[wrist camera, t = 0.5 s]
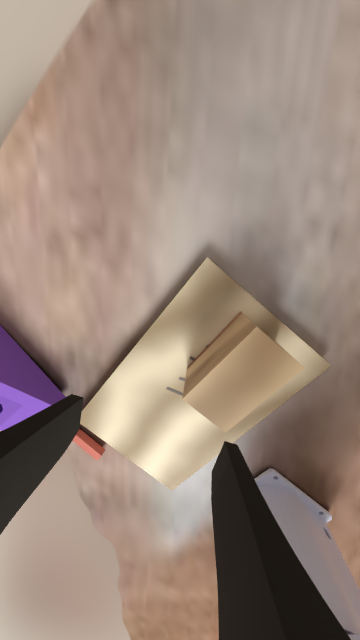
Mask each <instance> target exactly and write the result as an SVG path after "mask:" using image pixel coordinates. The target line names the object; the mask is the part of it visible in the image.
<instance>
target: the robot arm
mask: <svg viewBox="0 0 360 640" xmlns="http://www.w3.org/2000/svg"><path fill="white" fill-rule="evenodd" d="M82 405H83V397H79V396H76V395H73V394H71V395H70V396H68V397H66V398H64V399H62V400H60V401H58V402H56V403H55V404H53V405H51V406H49V407H47V408H45V409H43V410H42V411H40V412H38V413H36V414H34V415H32V416H30V417H28V418H26V419H24V420H23V421H21V422H19V423H17V424H15V425H13V426H11V427H9V428H7V429H5V430H3V431H1V432H0V534H1V533H2V532H3V530H4V529H5V527H6V526H7V525H8V523H9V522H10V521H11V519H12V518H13V517H14V515H15V514H16V512H17V511H18V510H19V509H20V508H21V506H22V505H23V504H24V503H25V501H26V500H27V499H28V498H29V496H30V495H31V494H32V493H33V491H34V490H35V489H36V488H37V486H38V485H39V484H40V483H41V481H42V480H43V479H44V478H45V476H46V475H47V474H48V473H49V471H50V470H51V469H52V468H53V466H54V465H55V464H56V462H57V461H58V460H59V459H60V457H61V456H62V455H63V454H64V452H65V451H66V449H67V448H68V446H69V445H70V443H71V442H72V440H73V439H74V437H75V436H76V434H77V432H78V431H79V428H80V420H81V412H82ZM211 500H212V515H213V529H214V542H215V555H216V569H217V583H218V609H219V640H360V589H359V587H358V585H357V583H356V581H355V579H354V577H353V575H352V573H351V571H350V569H349V567H348V565H347V564H346V562H345V560H344V558H343V556H342V554H341V552H340V550H339V548H338V546H337V544H336V542H335V540H334V538H333V536H332V534H331V532H330V530H329V528H328V526H327V524H326V522H328V521H330V520H331V519H332V516H331V514H330V513H329V512H328V511H327V510H326V509H324V508H323V507H322V506H320V505H319V504H318V503H317V502H315V501H314V500H313V499H311V498H310V497H309V496H308V495H306V494H305V493H304V492H303V491H301V490H300V489H299V488H297V487H296V486H295V485H294V484H292V483H291V482H290V481H288V480H287V479H286V478H285V477H283V476H282V475H281V474H280V473H278V472H277V471H276V470H274V469H268V470H266V471H265V472H263V473H262V474H261V475H259V476H258V477H256V478H255V479H254V478H253V476H252V474H251V472H250V470H249V468H248V466H247V464H246V462H245V460H244V458H243V456H242V454H241V451H240V449H239V448H238V446H237V445H236V444H233V443H229V442H226V441H224V444H223V446H222V449H221V451H220V453H219V456H218V458H217V461H216V463H215V465H214V468H213V470H212V495H211Z"/></svg>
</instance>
